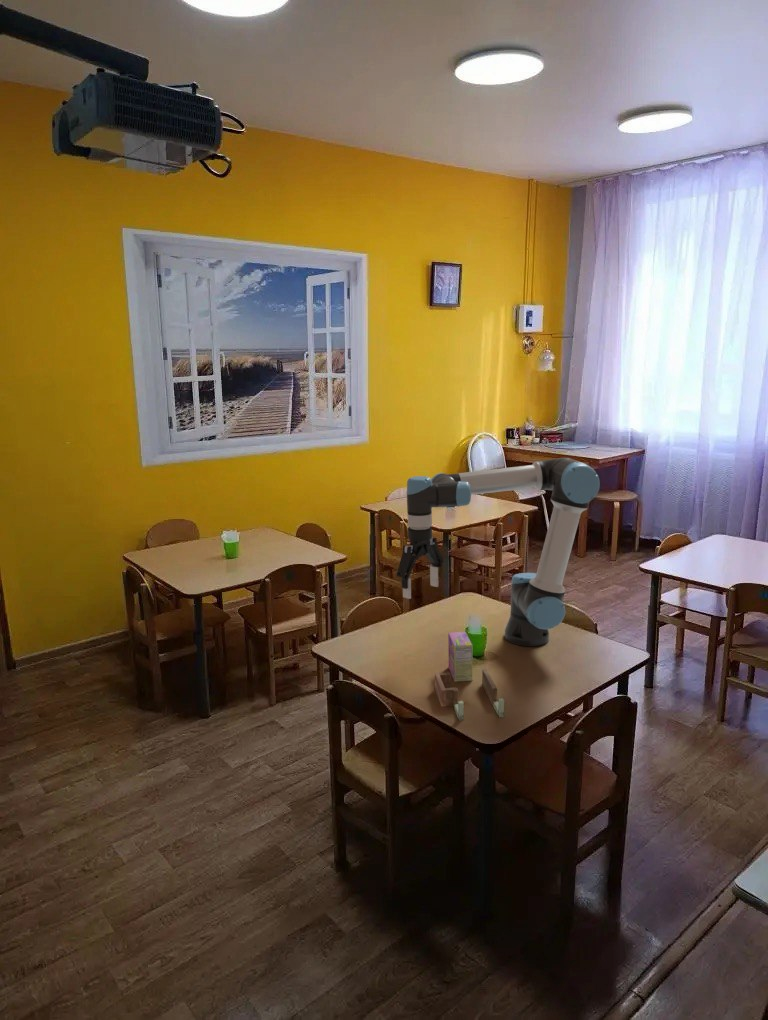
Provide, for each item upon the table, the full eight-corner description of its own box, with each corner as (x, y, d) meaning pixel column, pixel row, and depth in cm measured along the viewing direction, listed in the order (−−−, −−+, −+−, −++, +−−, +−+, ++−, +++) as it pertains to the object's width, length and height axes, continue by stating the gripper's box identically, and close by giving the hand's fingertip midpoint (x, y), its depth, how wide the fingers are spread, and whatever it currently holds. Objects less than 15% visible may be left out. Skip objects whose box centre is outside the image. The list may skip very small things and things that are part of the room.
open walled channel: (485, 684, 206) (486, 669, 205) (496, 704, 194) (497, 688, 193) (434, 687, 204) (434, 672, 203) (442, 708, 193) (442, 691, 192)
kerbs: (497, 706, 193) (498, 690, 192) (503, 717, 188) (504, 700, 186) (454, 709, 192) (454, 692, 191) (459, 720, 186) (459, 703, 185)
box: (447, 667, 218) (448, 632, 215) (465, 666, 218) (466, 631, 216) (453, 682, 208) (454, 646, 205) (472, 681, 208) (473, 645, 206)
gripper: (435, 517, 224) (436, 579, 229) (383, 533, 206) (385, 600, 211) (453, 520, 219) (454, 583, 224) (402, 537, 201) (404, 605, 206)
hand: (421, 591), depth 217 cm, fingers open, 13 cm apart
